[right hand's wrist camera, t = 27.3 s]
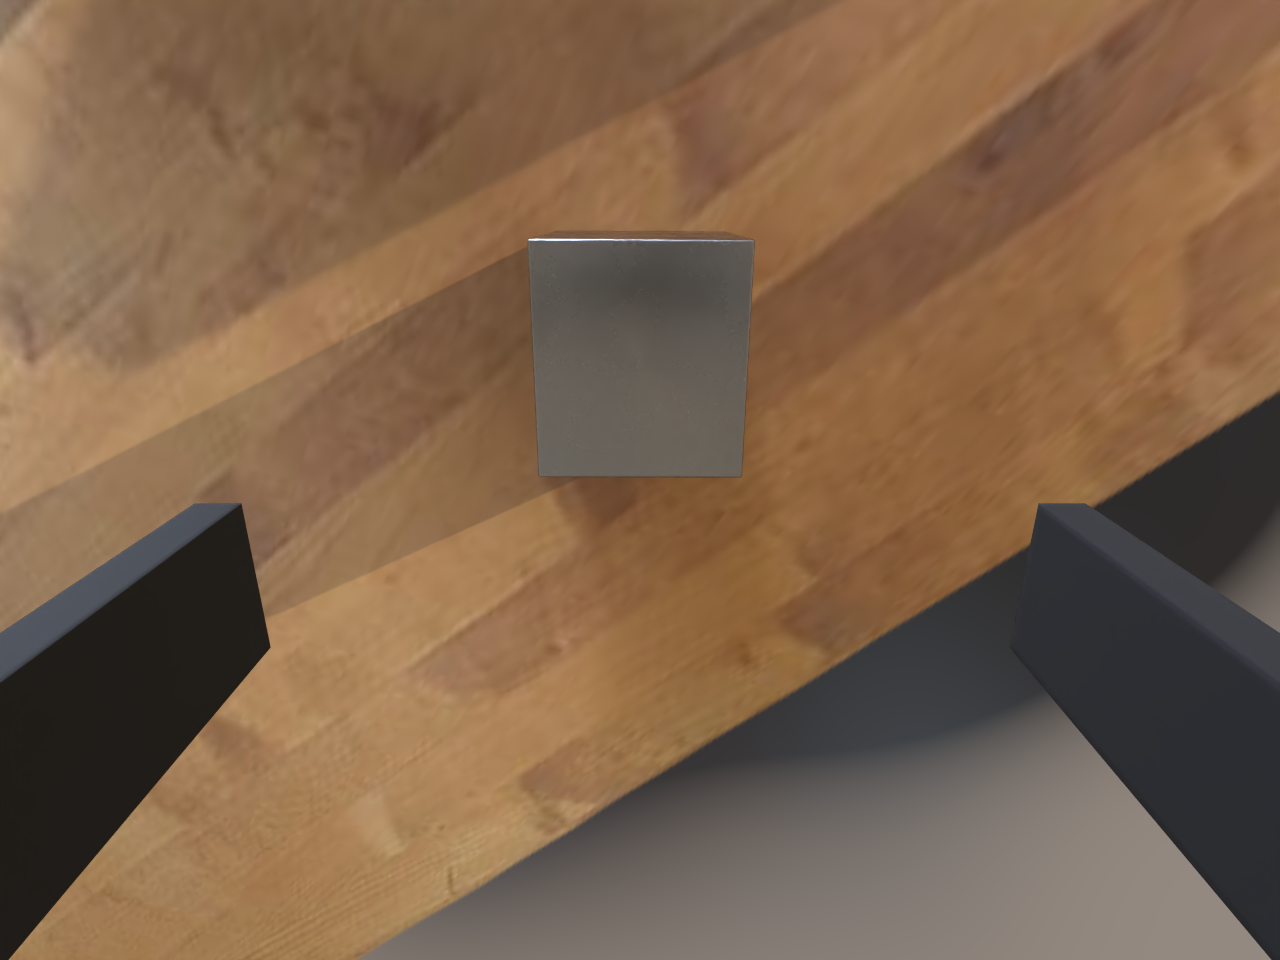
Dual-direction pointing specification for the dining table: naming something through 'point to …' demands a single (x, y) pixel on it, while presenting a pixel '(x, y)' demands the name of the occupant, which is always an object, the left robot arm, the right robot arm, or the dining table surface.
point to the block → (640, 352)
